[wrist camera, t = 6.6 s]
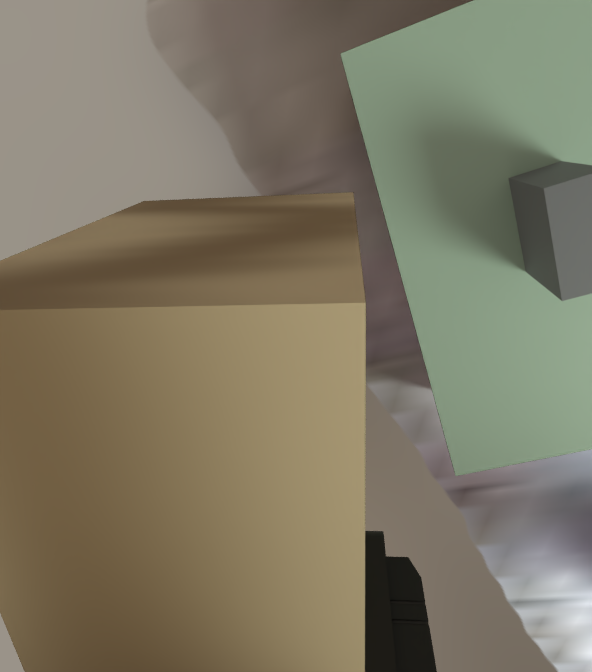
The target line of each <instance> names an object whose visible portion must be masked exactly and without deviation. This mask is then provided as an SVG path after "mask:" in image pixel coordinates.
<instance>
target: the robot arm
mask: <svg viewBox="0 0 592 672" xmlns="http://www.w3.org/2000/svg"><path fill="white" fill-rule="evenodd" d="M365 672H437V671H436V665H435V659H434V653H433V646H432V640H431V634H430V628H429V625H428V617H427V611H426V606H425V599H424V592H423V586H422V581H421V577H420V575H419V574H418V572H417V570H416V569H415V567H414V566H413V564H412V563H411V561H410V560H409V558H408V557H386V554H385V543H384V534H383V532H382V531H365Z"/></svg>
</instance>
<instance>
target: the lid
mask: <svg viewBox="0 0 592 672" xmlns="http://www.w3.org/2000/svg"><path fill="white" fill-rule="evenodd" d="M341 59H342V63H343V66H344V70H345V73H346V77H347V81H348V84H349V88H350V92H351V95H352V99H353V103H354V106H355V110H356V114H357V117H358V121H359V125H360V128H361V132H362V136H363V139H364V143H365V147H366V150H367V154H368V158H369V161H370V165H371V169H372V172H373V176H374V180H375V183H376V187H377V191H378V194H379V198H380V202H381V205H382V209H383V213H384V216H385V220H386V224H387V227H388V231H389V235H390V238H391V242H392V245H393V249H394V253H395V256H396V260H397V264H398V267H399V271H400V275H401V278H402V282H403V286H404V289H405V293H406V297H407V300H408V304H409V308H410V311H411V315H412V319H413V322H414V326H415V330H416V333H417V337H418V341H419V344H420V348H421V352H422V355H423V359H424V363H425V366H426V370H427V374H428V377H429V381H430V385H431V388H432V392H433V396H434V399H435V403H436V407H437V410H438V414H439V417H440V421H441V425H442V428H443V432H444V436H445V439H446V443H447V447H448V450H449V454H450V458H451V461H452V465H453V468H454V472H455V475H456V476H459V475H464V474H469V473H474V472H479V471H484V470H489V469H494V468H499V467H504V466H509V465H514V464H519V463H524V462H529V461H534V460H539V459H544V458H550V457H555V456H560V455H565V454H570V453H575V452H580V451H585V450H590V449H592V0H473V1H470V2H468V3H465V4H463V5H460V6H458V7H455V8H453V9H450V10H448V11H445V12H443V13H440V14H438V15H435V16H433V17H430V18H428V19H425V20H423V21H420V22H418V23H415V24H413V25H410V26H408V27H406V28H403V29H401V30H398V31H396V32H393V33H391V34H388V35H386V36H383V37H381V38H378V39H376V40H373V41H371V42H368V43H366V44H363V45H361V46H358V47H356V48H353V49H351V50H348V51H346V52H343V53H341Z"/></svg>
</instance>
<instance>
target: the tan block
mask: <svg viewBox="0 0 592 672" xmlns="http://www.w3.org/2000/svg"><path fill="white" fill-rule="evenodd" d="M365 397H366V300H365V291H364V283H363V274H362V265H361V256H360V247H359V239H358V230H357V221H356V212H355V204H354V195H353V192H348V193H324V194H301V195H277V196H256V197H255V196H254V197H232V198H231V197H230V198H206V199H183V200H160V201H143V202H141V203H138V204H136V205H134V206H131V207H129V208H126V209H124V210H122V211H119V212H117V213H114V214H112V215H109V216H107V217H105V218H102V219H100V220H97V221H95V222H92V223H90V224H88V225H85V226H83V227H80V228H78V229H76V230H73V231H71V232H68V233H66V234H64V235H61V236H59V237H57V238H54V239H51V240H49V241H47V242H44V243H42V244H40V245H37V246H35V247H32V248H30V249H28V250H25V251H23V252H20V253H18V254H15V255H13V256H11V257H8V258H6V259H3V260H1V261H0V613H1V616H2V618H3V620H4V623H5V625H6V628H7V630H8V632H9V635H10V637H11V640H12V642H13V645H14V647H15V649H16V652H17V654H18V657H19V659H20V662H21V664H22V666H23V669H24V671H25V672H365V420H366V418H365V417H366V415H365V414H366V409H365V408H366V404H365V401H366V398H365Z"/></svg>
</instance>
